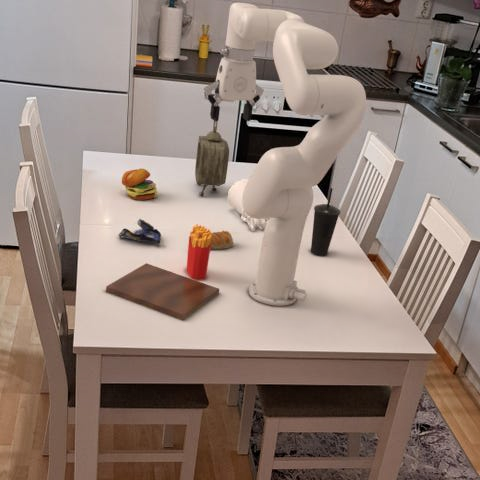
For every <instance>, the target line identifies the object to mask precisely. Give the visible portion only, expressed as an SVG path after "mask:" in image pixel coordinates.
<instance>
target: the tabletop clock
mask: <svg viewBox="0 0 480 480" xmlns="http://www.w3.org/2000/svg"><path fill="white" fill-rule="evenodd" d="M217 130H218V121H214V120H213V127H212V131H209V132H208V133H207V134H206V135H198V141H197V148H196V159H195V168H194V169H195V170H194V175H195V182H196V184H197V186H201V185H202V186H203V188H202V190H201V191H199V194H198V195H199V196H200V197H204V195H205V190H206V188H208V186H212V188H211V192H212V193H216V192H218V191H217V190H218V189H217V187H220V186H222V185H225V184H226V180H227V174H228V167H229V158H230V147H229V144H228V141H227V140H225V139H223V138H222V135H221V134H220V133H219V132H218V131H217Z"/></svg>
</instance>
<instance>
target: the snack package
mask: <svg viewBox="0 0 480 480" xmlns="http://www.w3.org/2000/svg"><path fill="white" fill-rule="evenodd" d="M136 222H137V225H138V226H139V228H138V229H136V230H133V231H131V230H130V229H128V228H122V230H121V231H120V232H119V234H117V236H118V237H119V238H118V239H121V238H122V237H123V238H127V239H130V240H135V241H138V242H155V243H157V244H160V243H161V241H162V234H161V232H160V231H159V230H158V228H155V227H154V226H153V225H152V224H151V223H149V222H148V221H146V220H143V219H141V218H139V219H137V221H136Z"/></svg>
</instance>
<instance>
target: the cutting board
mask: <svg viewBox="0 0 480 480" xmlns="http://www.w3.org/2000/svg"><path fill="white" fill-rule="evenodd" d="M105 292H106V293H108V294H110V295H114V296H117V297H119V298H122V299H124V300H127V301H130V302H133V303H136V304H137V305H141V306H142V307H143V306H144V307H146V308H149V309H152V310H154V311H157V312H160V313H162V314H165V315H168V316H170V317H172V318H176V319H178V320H181V321H185V320H186V319H187V318H189V316H191V315H192V314H195V312H196V311H198V310H199V309H201V308H202V307H203V306H204V305H206V304H207V303H209V302H210V301H212V300H213V299H214V298H215V297H217V296H218V295H220V288H219V287H216V286H213V285H210V284H207V283H204V282H201V281H200V280H196V279H193V278H191V277H190V278H189V277H187V276H184V275H181V274H178V273H175V272H173V271H170V270H167V269H165V268H161V267H158V266H156V265H152V264H150V263H143V265H140V266H139V267H137V268H136V269H134V270H132V271H130V272H128V273H127V274H125V275H124V276H122V277H120V278H118V279H117V280H115V281H113V282H111V283H109V284H108V285H106V286H105Z"/></svg>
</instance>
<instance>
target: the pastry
mask: <svg viewBox="0 0 480 480" xmlns="http://www.w3.org/2000/svg"><path fill="white" fill-rule="evenodd" d="M211 234H212V238H211V242H210V245H211V248H210V250H224V249H230V248H232V247H233V246H234V239H233V237H232V234H231V233H230V232H229V231H227V230H222V231H213V232H211Z"/></svg>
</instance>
